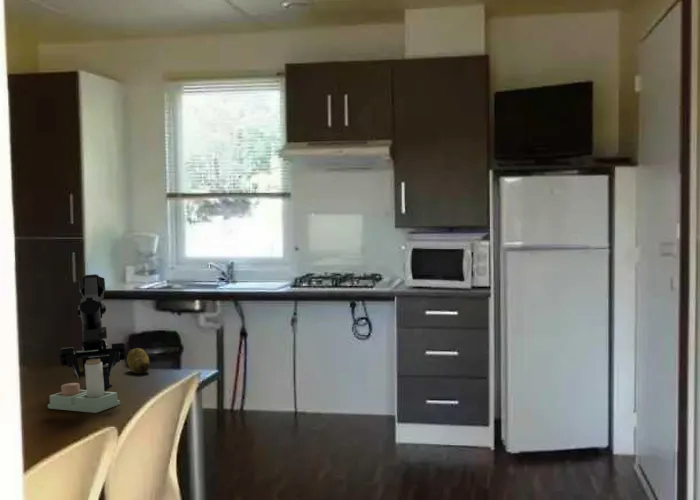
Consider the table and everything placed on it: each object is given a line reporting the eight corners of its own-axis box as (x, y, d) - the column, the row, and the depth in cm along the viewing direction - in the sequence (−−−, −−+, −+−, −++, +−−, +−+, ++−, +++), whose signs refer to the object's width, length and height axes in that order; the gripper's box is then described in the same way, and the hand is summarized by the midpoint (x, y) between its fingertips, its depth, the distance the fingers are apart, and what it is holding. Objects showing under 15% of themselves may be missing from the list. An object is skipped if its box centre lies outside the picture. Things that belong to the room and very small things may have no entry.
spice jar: (85, 403, 241) (81, 360, 240) (101, 400, 244) (98, 357, 243) (91, 406, 238) (87, 362, 237) (107, 403, 241) (104, 359, 240)
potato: (125, 376, 284) (123, 353, 283) (128, 369, 296) (127, 347, 296) (150, 374, 285) (148, 351, 285) (152, 367, 298) (150, 345, 297)
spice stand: (48, 408, 243) (46, 387, 243) (73, 400, 252) (71, 380, 252) (95, 412, 235) (94, 391, 234) (120, 404, 243) (118, 383, 243)
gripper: (57, 321, 241) (58, 365, 231) (123, 315, 246) (126, 358, 236) (61, 343, 249) (61, 386, 239) (124, 337, 254) (127, 379, 244)
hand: (94, 377), depth 239 cm, fingers open, 8 cm apart
